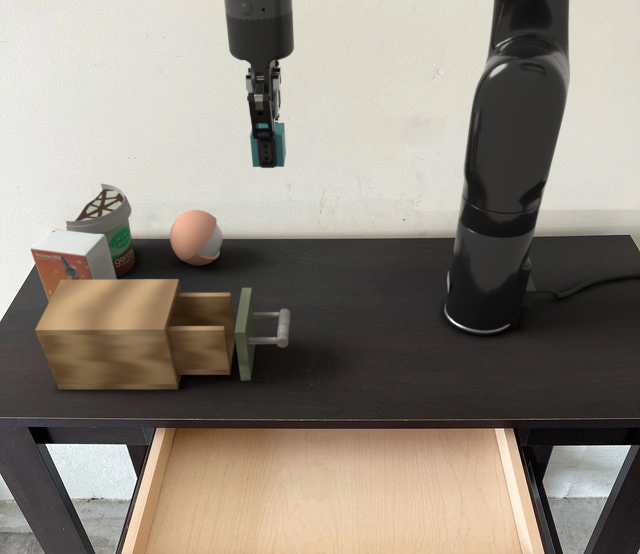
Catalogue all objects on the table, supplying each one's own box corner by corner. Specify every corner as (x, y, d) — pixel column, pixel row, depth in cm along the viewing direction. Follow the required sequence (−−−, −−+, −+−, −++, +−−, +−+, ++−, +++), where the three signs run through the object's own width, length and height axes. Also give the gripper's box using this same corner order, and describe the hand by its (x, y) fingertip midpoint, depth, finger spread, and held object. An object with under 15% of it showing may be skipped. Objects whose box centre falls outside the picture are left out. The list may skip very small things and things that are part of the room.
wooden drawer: (292, 335, 86) (290, 287, 80) (289, 380, 79) (286, 332, 74) (153, 335, 86) (142, 288, 81) (139, 380, 80) (126, 332, 75)
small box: (53, 316, 91) (27, 248, 83) (72, 293, 95) (50, 226, 87) (105, 323, 89) (85, 255, 82) (124, 300, 93) (105, 233, 86)
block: (285, 153, 87) (284, 122, 84) (283, 166, 84) (282, 135, 81) (255, 153, 87) (253, 122, 84) (252, 167, 84) (249, 135, 81)
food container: (123, 290, 95) (106, 227, 88) (83, 286, 96) (63, 223, 89) (155, 246, 103) (141, 185, 96) (118, 242, 104) (102, 181, 97)
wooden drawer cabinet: (190, 337, 87) (178, 278, 81) (178, 389, 80) (164, 329, 73) (81, 338, 87) (60, 279, 81) (58, 389, 80) (34, 329, 74)
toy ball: (226, 274, 98) (219, 225, 92) (173, 277, 97) (163, 228, 91) (226, 246, 103) (219, 198, 98) (176, 249, 103) (167, 201, 97)
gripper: (288, 24, 68) (295, 184, 80) (295, -10, 78) (301, 136, 90) (216, 25, 68) (234, 184, 81) (233, -10, 78) (246, 136, 91)
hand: (269, 158), depth 85 cm, fingers closed on block, 4 cm apart
